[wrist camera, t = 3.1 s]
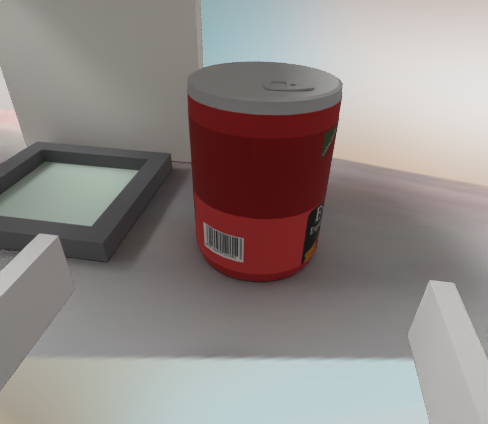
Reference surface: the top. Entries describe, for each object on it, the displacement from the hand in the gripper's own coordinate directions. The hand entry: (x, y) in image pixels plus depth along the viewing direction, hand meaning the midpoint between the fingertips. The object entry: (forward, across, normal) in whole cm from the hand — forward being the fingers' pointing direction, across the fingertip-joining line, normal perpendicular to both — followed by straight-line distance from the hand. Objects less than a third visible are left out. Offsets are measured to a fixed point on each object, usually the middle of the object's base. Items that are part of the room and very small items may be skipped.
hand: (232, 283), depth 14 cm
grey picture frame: (+13, -16, -6) cm, 21 cm away
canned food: (+10, 0, -6) cm, 12 cm away
